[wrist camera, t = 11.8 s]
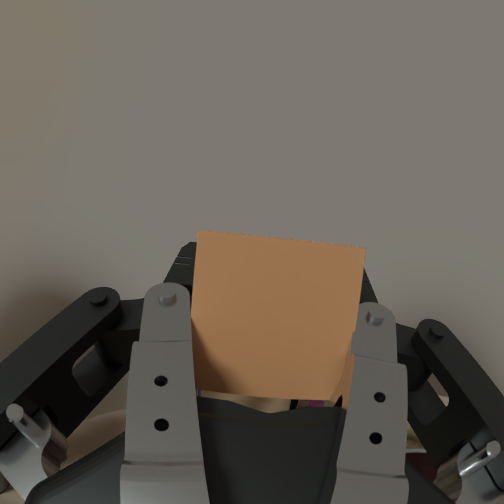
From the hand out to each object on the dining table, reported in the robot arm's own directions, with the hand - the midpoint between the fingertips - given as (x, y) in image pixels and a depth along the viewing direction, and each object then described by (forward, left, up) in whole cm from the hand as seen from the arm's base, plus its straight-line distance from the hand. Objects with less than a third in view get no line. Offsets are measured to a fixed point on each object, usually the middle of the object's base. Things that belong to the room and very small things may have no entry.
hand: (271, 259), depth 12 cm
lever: (0, +8, -4) cm, 9 cm away
